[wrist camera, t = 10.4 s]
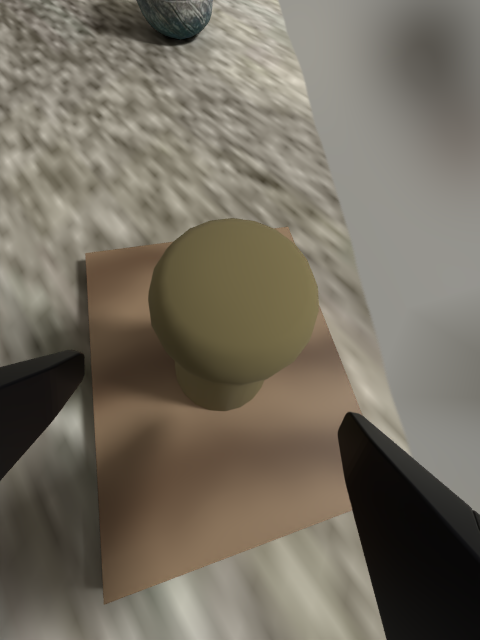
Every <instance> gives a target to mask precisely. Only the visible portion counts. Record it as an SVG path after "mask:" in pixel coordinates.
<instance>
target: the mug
mask: <svg viewBox="0 0 480 640" xmlns="http://www.w3.org/2000/svg"><path fill="white" fill-rule="evenodd" d="M212 1H213V0H137V3H138V5H139V7H140V9H141V12H142V14H143V15H144V17H145V18H146V20H147V21H148V22H149V24H150V25H151V26H152V27H153V28H154V29H156V30H157V31H158V32H160V33H162V34H164V35H165V36H168V37H171V38H176V39H185V38H190V37H192V36H194V35H196V34H197V33H199V32H201V31H202V30H203V29H204V27H205V26H206V25H207V24H208V22H209V20H210V17H211V13H212Z"/></svg>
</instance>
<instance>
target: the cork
mask: <svg viewBox="0 0 480 640" xmlns="http://www.w3.org/2000/svg"><path fill="white" fill-rule="evenodd" d="M148 303H149V311H150V318H151V325H152V328H153V329H154V331H155V333H156V335H157V337H158V339H159V341H160V342H161V344H162V346H163V348H164V350H165V351H166V353H167V354H168V355H169V356H170V357H171V358H172V359H173V360H174V361H175V371H176V377H177V381H178V383H179V385H180V387H181V389H182V391H183V393H184V394H185V395H186V396H187V397H188V398H189V399H190V400H191V401H193V402H194V403H195V404H196V405H199V406H201V407H203V408H205V409H208V410H213V411H229V410H232V409H236V408H240V407H241V406H243V405H244V404H246V403H247V402H249V401H250V400H252V399H253V398H254V396H255V395H256V394H257V393H258V391H259V390H260V389H261V387H262V385H263V383H264V380H266V379H268V378H269V377H271V376H273V375H274V374H276V373H277V372H279V371H280V370H282V369H283V368H285V367H287V366H288V365H290V364H291V363H293V362H294V361H295V360H296V358H297V357H298V356H299V354H300V353H301V352H302V350H303V349H304V348H305V346H306V345H307V344H308V342H309V341H310V338H311V335H312V332H313V329H314V325H315V322H316V319H317V316H318V312H319V301H318V287H317V284H316V281H315V278H314V276H313V273H312V271H311V268H310V266H309V263H308V261H307V259H306V258H305V256H304V255H303V254H302V253H301V251H300V250H299V249H298V248H297V246H296V245H295V244H294V243H293V242H292V241H291V240H289V239H288V238H287V237H285V236H284V235H282V234H281V233H280V232H278V231H277V230H276V229H273V228H271V227H268V226H266V225H263V224H261V223H258V222H256V221H250V220H242V219H235V218H230V219H221V220H212V221H208V222H206V223H203V224H201V225H198V226H196V227H193V228H191V229H189V230H188V231H186V232H185V233H184V234H183V235H181V236H180V237H179V238H178V239H176V240H175V241H174V242H172V244H171V245H170V246H169V247H168V248H167V249H166V250H165V252H164V254H163V255H162V257H161V258H160V260H159V261H158V263H157V264H156V266H155V267H154V270H153V275H152V279H151V283H150V288H149V293H148Z"/></svg>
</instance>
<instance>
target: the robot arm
mask: <svg viewBox="0 0 480 640" xmlns="http://www.w3.org/2000/svg"><path fill="white" fill-rule="evenodd" d="M83 377H84V354H83V353H82V352H78V351H74V350H67V351H63V352H59V353H55V354H51V355H47V356H43V357H39V358H35V359H31V360H27V361H23V362H19V363H15V364H11V365H7V366H3V367H0V480H1V479H2V478H3V477H4V476H5V475H6V474H7V472H8V471H9V470H10V469H11V468H12V467H13V466H14V464H15V463H16V462H17V461H18V460H19V459H20V458H21V456H22V455H23V454H24V453H25V452H26V451H27V450H28V449H29V447H30V446H31V445H32V444H33V443H34V442H35V441H36V439H37V438H38V437H39V436H40V435H41V434H42V433H43V431H44V430H45V429H46V428H47V427H48V426H49V425H50V423H51V422H52V421H53V420H54V418H55V417H56V416H57V415H58V413H59V412H60V410H61V409H62V408H63V406H64V405H65V403H66V402H67V401H68V399H69V398H70V397H71V395H72V394H73V392H74V391H75V390H76V388H77V387H78V385H79V384H80V383H81V381H82V380H83ZM338 442H339V448H340V455H341V461H342V467H343V473H344V479H345V484H346V488H347V492H348V495H349V499H350V503H351V507H352V511H353V514H354V518H355V522H356V526H357V529H358V533H359V537H360V541H361V545H362V548H363V552H364V556H365V560H366V563H367V567H368V571H369V575H370V579H371V582H372V586H373V590H374V594H375V597H376V601H377V605H378V609H379V613H380V616H381V620H382V624H383V628H384V631H385V635H386V639H387V640H480V515H479V514H478V513H477V512H476V511H474V510H472V508H471V507H470V506H469V505H468V504H466V503H465V502H464V501H463V500H462V499H460V498H459V497H458V496H457V495H456V494H455V493H453V492H452V491H451V490H450V489H449V488H447V487H446V486H445V485H444V484H443V483H441V482H440V481H439V480H438V479H437V478H435V477H434V476H433V475H432V474H431V473H430V472H429V471H427V470H426V469H425V468H424V467H422V466H421V465H420V464H419V463H418V462H417V461H416V460H414V459H413V458H412V457H411V456H410V455H408V454H407V453H406V452H405V451H404V450H403V449H401V448H400V447H399V446H398V445H397V444H395V443H394V442H393V441H392V440H391V439H390V438H388V437H387V436H386V435H385V434H384V433H382V432H381V431H380V430H379V429H378V428H377V427H375V426H374V425H373V424H372V423H371V422H369V421H368V420H367V419H366V418H365V417H364V416H362V415H361V414H359V413H354V412H347V413H346V414H345V416H344V418H343V420H342V423H341V425H340V427H339V429H338Z"/></svg>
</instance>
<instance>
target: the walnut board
mask: <svg viewBox="0 0 480 640" xmlns="http://www.w3.org/2000/svg"><path fill="white" fill-rule="evenodd" d="M275 229H276V230H277V231H278V232H280V233H281V234H282V235H284V236H285V237H287V238H288V239H289V240H291V241H292V242H293V243H294V241H293V238H292V235H291V233H290V230H289V228H288V227H282V228H275ZM171 244H172V242H168V243H161V244H153V245H145V246H138V247H130V248H123V249H115V250H107V251H100V252H92V253H85V255H86V274H87V293H88V312H89V331H90V350H91V369H92V388H93V407H94V426H95V446H96V465H97V484H98V503H99V522H100V541H101V560H102V579H103V598H104V604H107V603H110V602H112V601H115V600H118V599H120V598H123V597H125V596H128V595H131V594H133V593H136V592H139V591H141V590H144V589H146V588H149V587H152V586H154V585H157V584H160V583H162V582H165V581H167V580H170V579H173V578H175V577H178V576H181V575H183V574H186V573H188V572H191V571H194V570H196V569H199V568H202V567H204V566H207V565H209V564H212V563H215V562H217V561H220V560H223V559H225V558H228V557H230V556H233V555H236V554H238V553H241V552H244V551H246V550H249V549H251V548H254V547H257V546H259V545H262V544H265V543H267V542H270V541H272V540H275V539H278V538H280V537H283V536H286V535H288V534H291V533H293V532H296V531H299V530H301V529H304V528H307V527H309V526H312V525H314V524H317V523H320V522H322V521H325V520H328V519H330V518H333V517H335V516H338V515H341V514H343V513H346V512H349V511H351V510H352V507H351V503H350V499H349V495H348V492H347V488H346V484H345V479H344V473H343V467H342V461H341V455H340V448H339V442H338V429H339V427H340V425H341V423H342V420H343V418H344V416H345V414H346V413H347V412H354V413H359V414H361V415H362V413H361V410H360V408H359V405H358V402H357V400H356V397H355V395H354V392H353V390H352V387H351V385H350V382H349V380H348V377H347V375H346V372H345V370H344V367H343V365H342V362H341V359H340V357H339V354H338V352H337V349H336V347H335V344H334V342H333V339H332V337H331V334H330V332H329V329H328V327H327V324H326V322H325V319H324V316H323V314H322V311H321V309H320V306H319V312H318V316H317V319H316V322H315V325H314V329H313V332H312V335H311V338H310V341H309V342H308V344H307V345H306V346H305V348H304V349H303V350H302V352H301V353H300V354H299V356H298V357H297V358H296V360H295V361H294V362H293V363H291V364H290V365H288V366H287V367H285V368H283V369H282V370H280V371H279V372H277V373H276V374H274V375H273V376H271V377H269V378H268V379H266V380H264V383H263V385H262V387H261V389H260V390H259V391H258V393H257V394H256V395H255V396H254V398H253V399H252V400H250V401H249V402H247V403H246V404H244V405H243V406H241V407H240V408H236V409H232V410H229V411H213V410H208V409H205V408H203V407H201V406H199V405H196V404H195V403H194V402H193V401H191V400H190V399H189V398H188V397H187V396H186V395H185V394H184V393H183V391H182V389H181V387H180V385H179V383H178V381H177V377H176V371H175V361H174V360H173V359H172V358H171V357H170V356H169V355H168V354H167V353H166V351H165V350H164V348H163V346H162V344H161V342H160V341H159V339H158V337H157V335H156V333H155V331H154V329H153V328H152V325H151V318H150V311H149V303H148V293H149V288H150V283H151V279H152V275H153V270H154V267H155V266H156V264H157V263H158V261H159V260H160V258H161V257H162V255H163V254H164V252H165V250H166V249H167V248H168V247H169V246H170V245H171ZM294 244H295V243H294ZM362 416H363V415H362Z"/></svg>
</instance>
